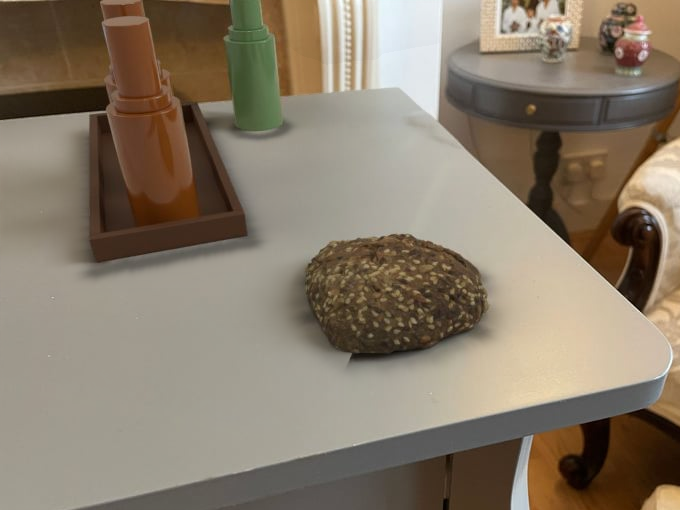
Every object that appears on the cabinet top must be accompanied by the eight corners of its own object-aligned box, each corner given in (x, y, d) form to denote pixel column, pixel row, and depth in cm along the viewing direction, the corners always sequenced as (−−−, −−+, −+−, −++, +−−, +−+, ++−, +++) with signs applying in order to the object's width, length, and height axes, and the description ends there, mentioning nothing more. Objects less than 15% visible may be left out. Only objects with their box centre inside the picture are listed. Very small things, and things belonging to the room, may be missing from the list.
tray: (248, 241, 53) (244, 213, 52) (98, 269, 50) (89, 239, 48) (200, 123, 76) (196, 101, 75) (95, 137, 73) (89, 114, 71)
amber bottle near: (122, 233, 53) (67, 27, 44) (157, 203, 58) (113, 11, 49) (181, 240, 52) (138, 31, 43) (212, 210, 57) (179, 14, 48)
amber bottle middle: (118, 193, 60) (70, 5, 51) (150, 169, 64) (111, -7, 55) (171, 199, 58) (132, 8, 50) (200, 174, 63) (168, -5, 54)
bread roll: (316, 369, 40) (311, 303, 37) (300, 264, 50) (294, 206, 48) (514, 343, 42) (523, 279, 39) (460, 248, 52) (464, 191, 49)
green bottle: (227, 133, 74) (205, -22, 65) (247, 117, 78) (229, -30, 69) (272, 137, 72) (255, -20, 63) (290, 121, 77) (276, -29, 68)
